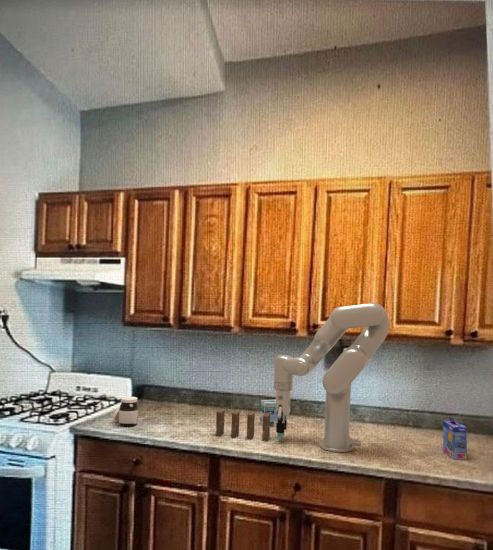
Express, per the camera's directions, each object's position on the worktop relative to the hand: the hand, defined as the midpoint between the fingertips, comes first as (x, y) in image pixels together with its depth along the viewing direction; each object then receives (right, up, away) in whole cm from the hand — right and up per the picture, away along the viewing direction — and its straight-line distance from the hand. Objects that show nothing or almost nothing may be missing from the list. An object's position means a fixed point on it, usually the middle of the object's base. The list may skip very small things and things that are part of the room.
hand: (281, 430), depth 209 cm
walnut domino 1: (-25, -4, +6) cm, 26 cm away
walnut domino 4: (-6, -4, +1) cm, 7 cm away
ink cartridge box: (+65, -6, -12) cm, 66 cm away
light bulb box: (-2, -5, +25) cm, 26 cm away
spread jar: (-68, -3, +18) cm, 70 cm away
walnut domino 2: (-19, -4, +4) cm, 20 cm away
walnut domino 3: (-12, -4, +3) cm, 13 cm away
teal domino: (0, -2, 0) cm, 3 cm away
